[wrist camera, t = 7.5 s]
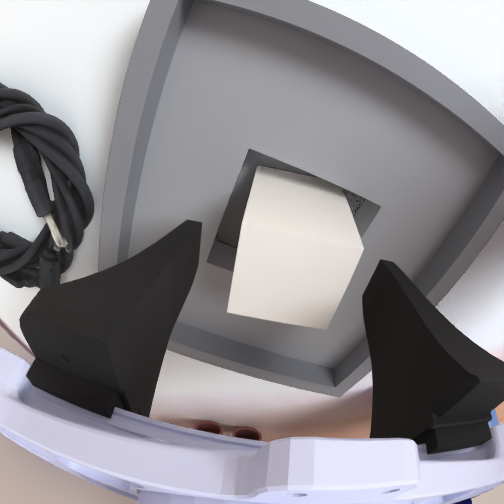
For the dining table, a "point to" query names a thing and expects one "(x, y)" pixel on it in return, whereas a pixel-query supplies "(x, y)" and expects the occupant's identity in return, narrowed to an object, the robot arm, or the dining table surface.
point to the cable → (44, 193)
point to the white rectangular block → (294, 250)
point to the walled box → (298, 155)
